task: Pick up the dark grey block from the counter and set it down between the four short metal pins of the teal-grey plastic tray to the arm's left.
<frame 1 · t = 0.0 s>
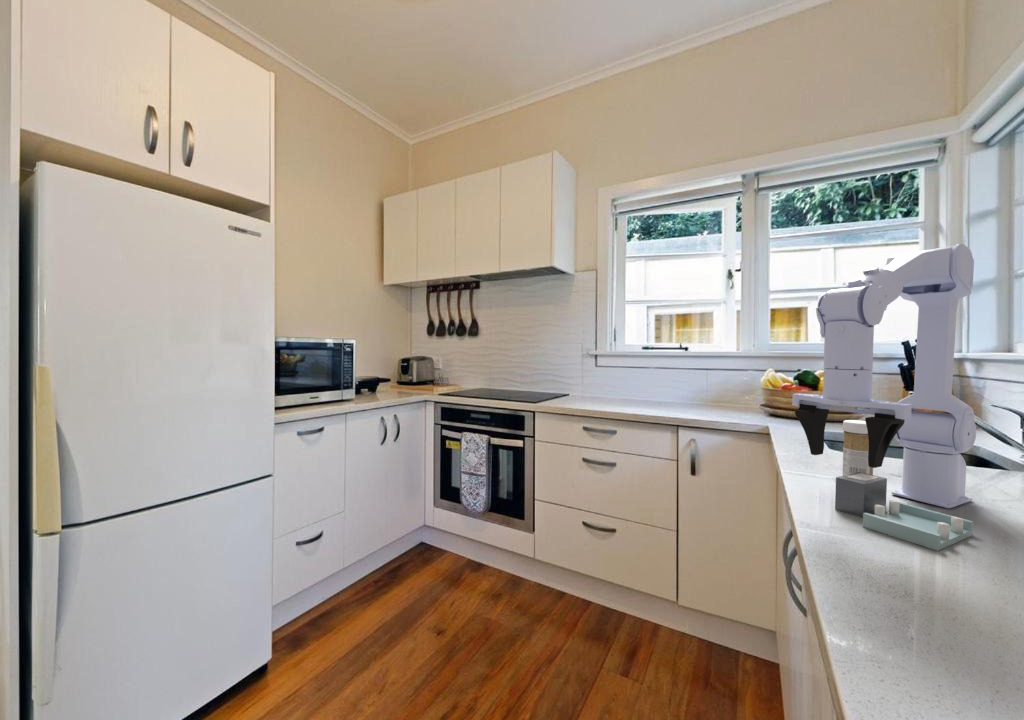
hand: (844, 460, 64), 10 cm above the countertop, tool pointing down, fingers open, 7 cm apart
tray: (916, 530, 63), on the countertop
dark grey block: (860, 510, 71), on the countertop
sprinkles bottle: (856, 495, 79), on the countertop
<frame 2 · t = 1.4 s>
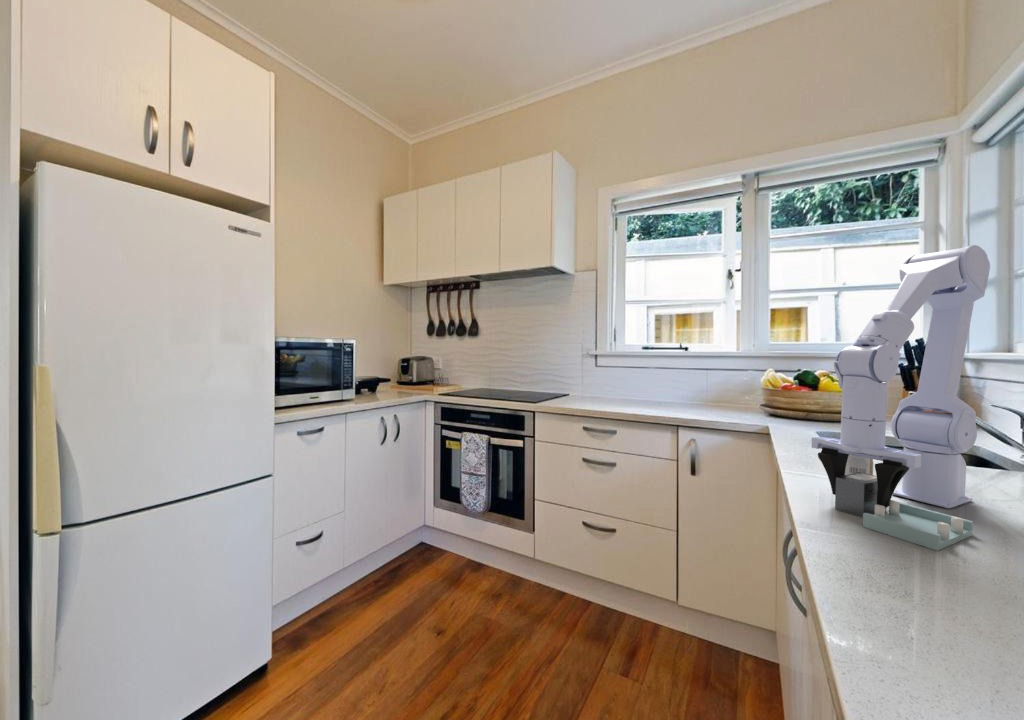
hand: (859, 500, 71), 2 cm above the countertop, tool pointing down, fingers open, 6 cm apart
nothing on the countertop moved.
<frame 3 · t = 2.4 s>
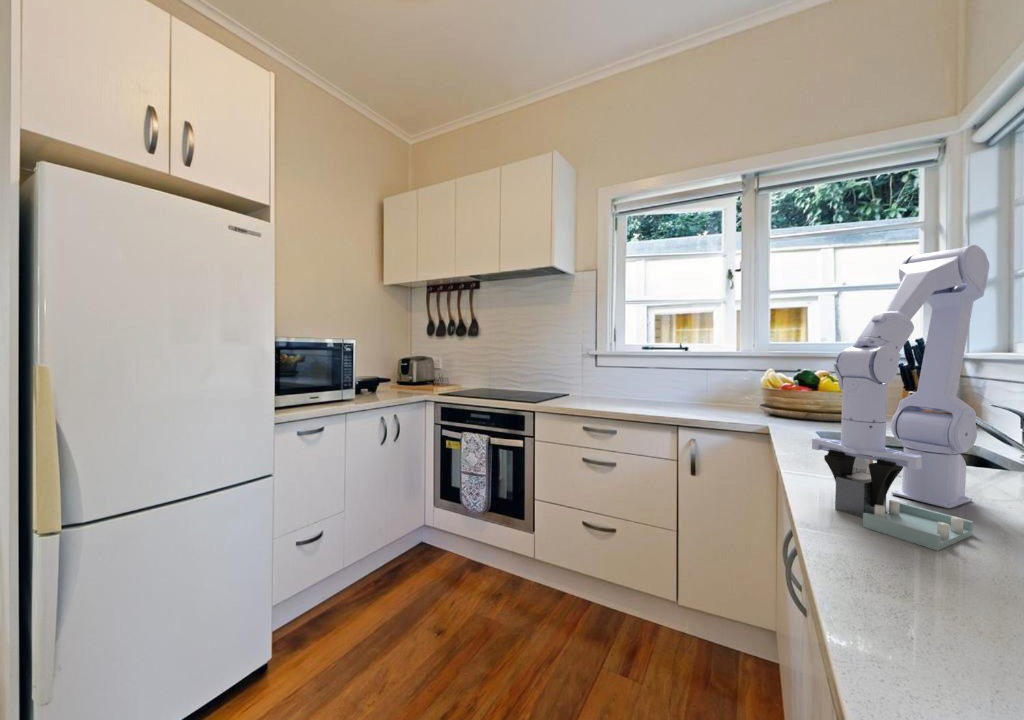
hand: (860, 501, 71), 1 cm above the countertop, tool pointing down, fingers closed on dark grey block, 4 cm apart
dark grey block: (860, 509, 71), on the countertop, touching gripper
everything else where it was.
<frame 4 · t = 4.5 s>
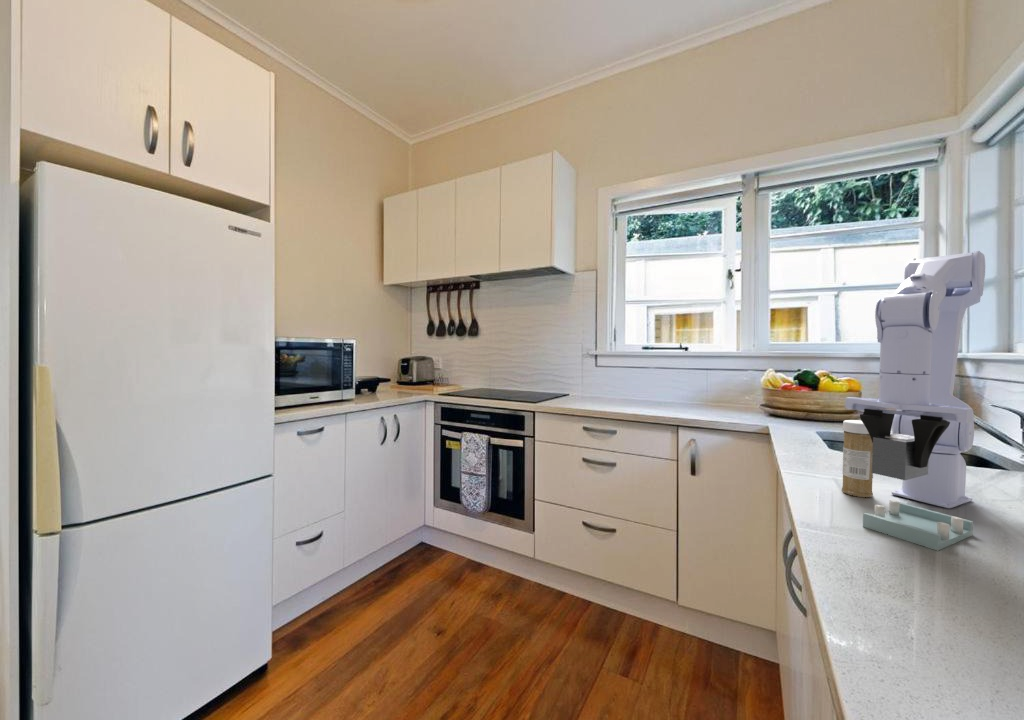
hand: (901, 462, 65), 9 cm above the countertop, tool pointing down, fingers closed on dark grey block, 4 cm apart
dark grey block: (899, 473, 65), point 8 cm above the countertop, touching gripper
everything else where it was.
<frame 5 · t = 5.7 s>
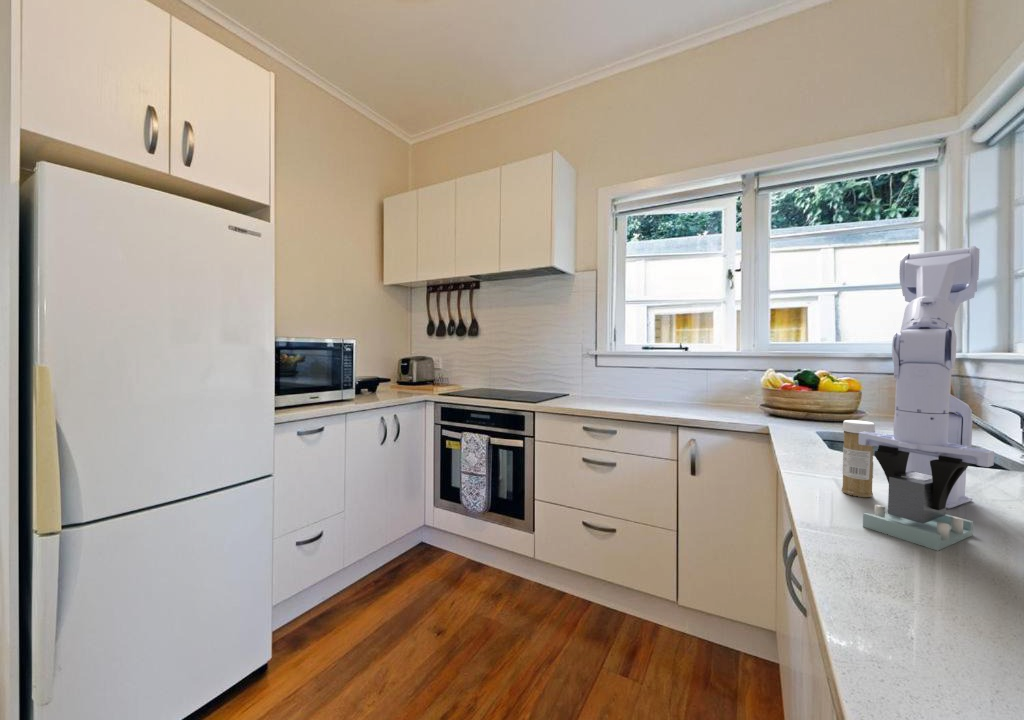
hand: (917, 503, 63), 4 cm above the countertop, tool pointing down, fingers closed on dark grey block, 4 cm apart
dark grey block: (916, 514, 63), point 2 cm above the countertop, touching gripper
everything else where it was.
when the fingers open (4 cm above the countertop, at t = 6.6 s): dark grey block drops 1 cm, resting on tray.
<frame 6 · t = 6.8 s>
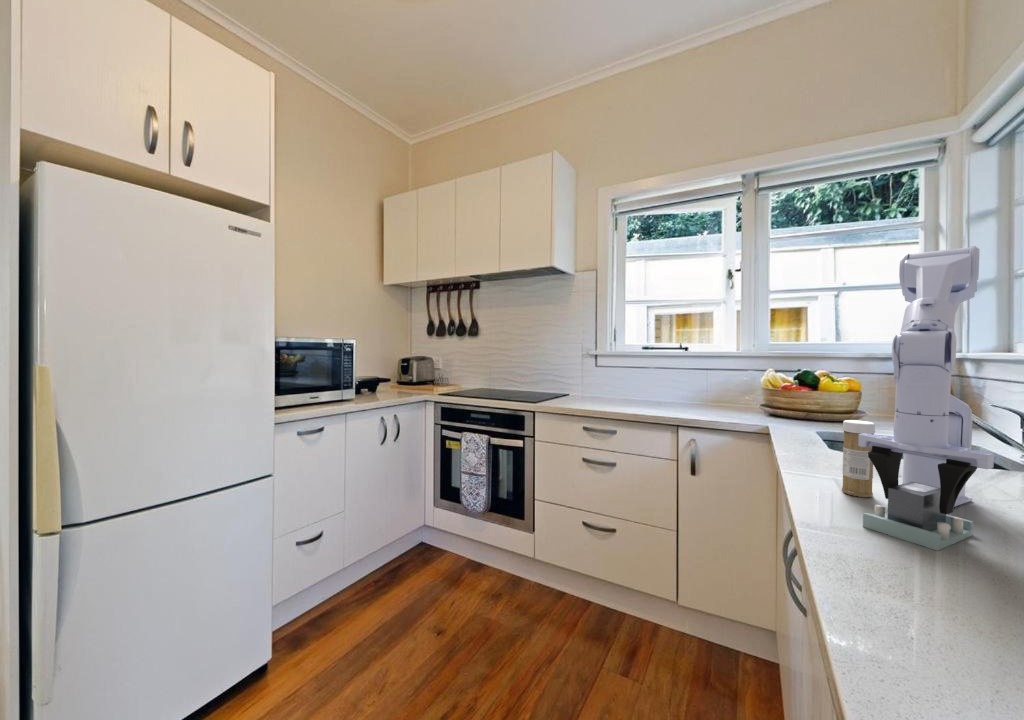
hand: (917, 505, 63), 4 cm above the countertop, tool pointing down, fingers open, 6 cm apart
dark grey block: (916, 525, 63), point 1 cm above the countertop, touching tray
everything else where it was.
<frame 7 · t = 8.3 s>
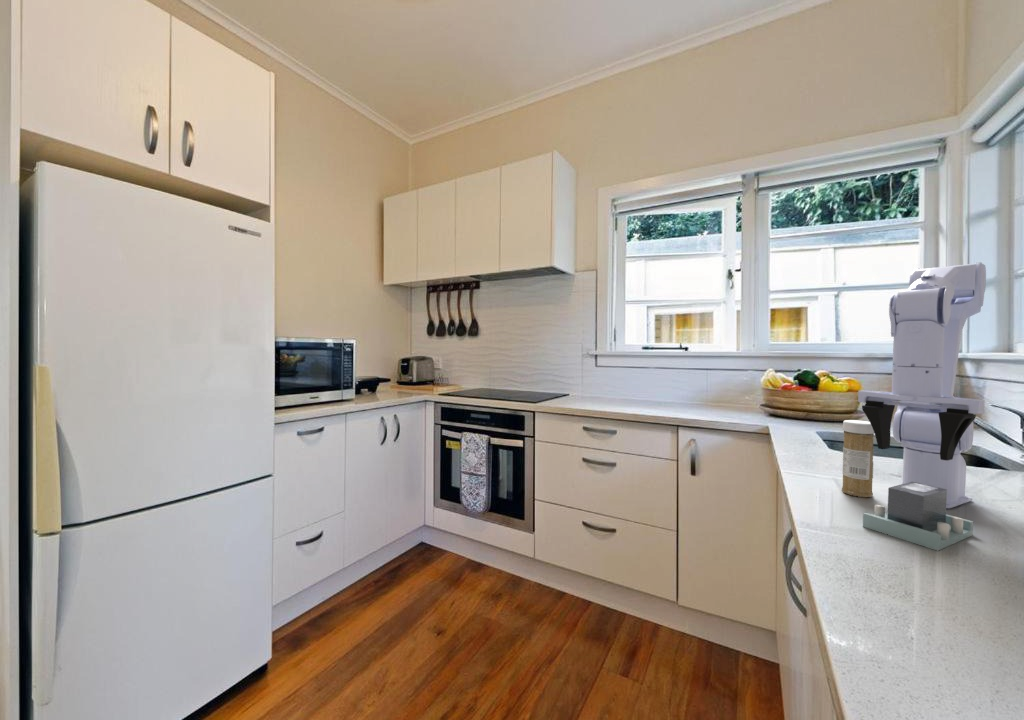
hand: (913, 453, 67), 10 cm above the countertop, tool pointing down, fingers open, 7 cm apart
nothing on the countertop moved.
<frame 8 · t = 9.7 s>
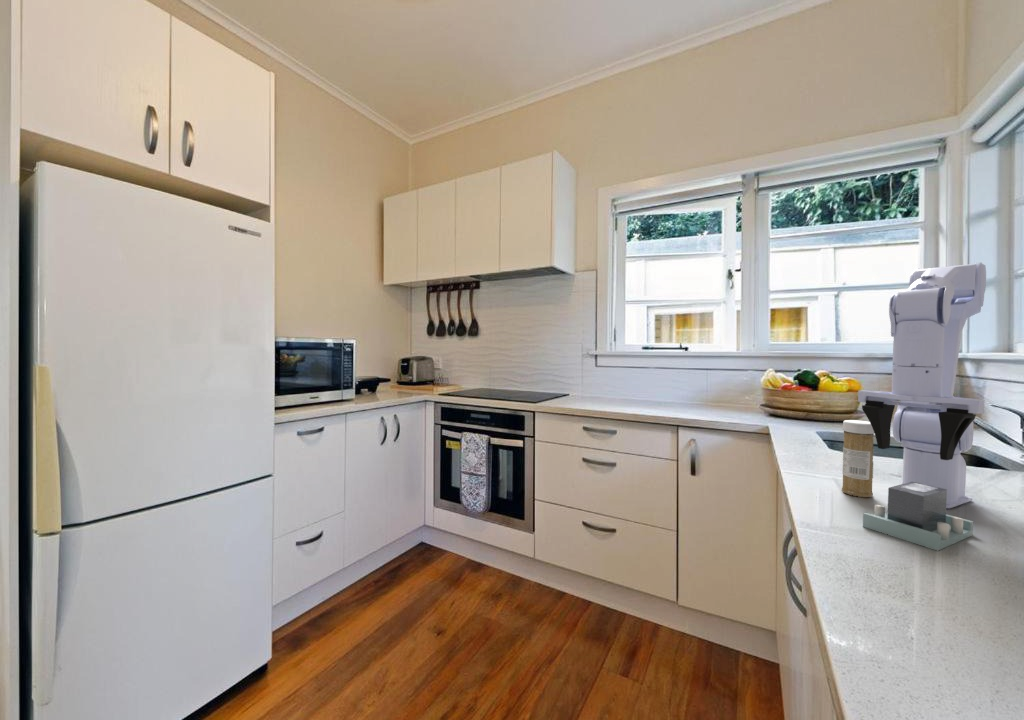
hand: (913, 453, 67), 10 cm above the countertop, tool pointing down, fingers open, 7 cm apart
nothing on the countertop moved.
at the end: dark grey block 0.2 cm off-centre on the tray, point 0.8 cm above the tray's base; dark grey block tilted 0°; the gripper is holding nothing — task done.
